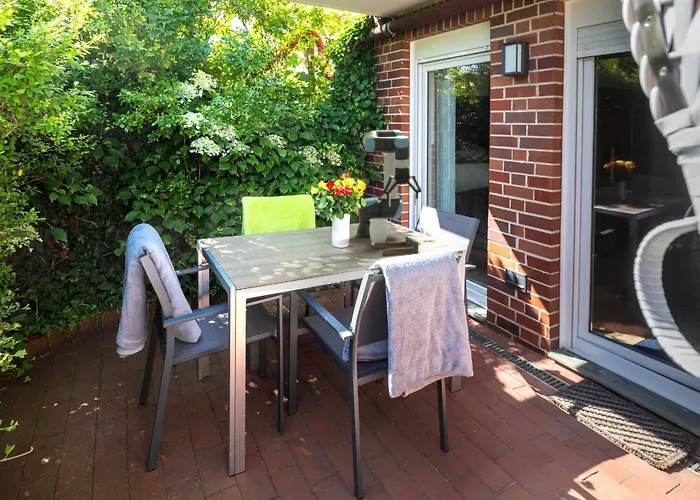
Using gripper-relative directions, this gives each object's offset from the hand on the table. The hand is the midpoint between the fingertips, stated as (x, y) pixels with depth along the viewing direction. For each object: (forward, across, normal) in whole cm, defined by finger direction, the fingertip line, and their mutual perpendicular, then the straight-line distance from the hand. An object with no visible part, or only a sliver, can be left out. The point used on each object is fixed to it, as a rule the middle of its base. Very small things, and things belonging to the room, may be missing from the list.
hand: (402, 205), depth 280 cm
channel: (+26, -4, -2) cm, 26 cm away
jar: (+28, -13, +12) cm, 33 cm away
